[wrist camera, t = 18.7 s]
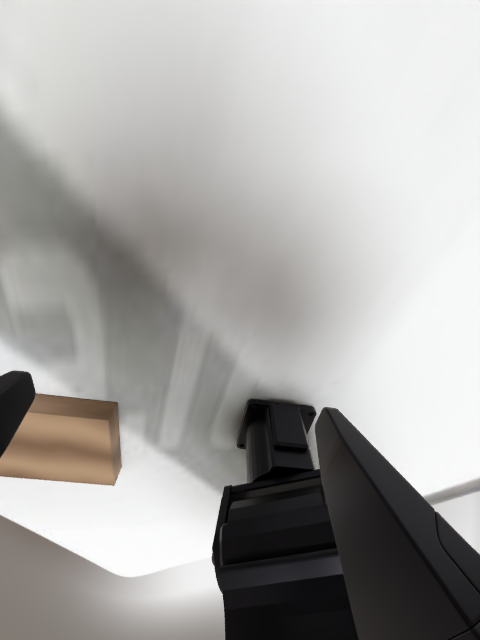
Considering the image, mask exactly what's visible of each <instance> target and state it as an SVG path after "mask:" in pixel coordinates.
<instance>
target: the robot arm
mask: <svg viewBox="0 0 480 640" xmlns="http://www.w3.org/2000/svg"><path fill="white" fill-rule="evenodd" d="M35 394H36V392H35V388H34V384H33V380H32V377H31V374H30V373H29V372H24V371H11V372H8V373H6V374H4V375H2V376H0V458H1V457H2V455H3V454H4V452H5V451H6V449H7V447H8V446H9V444H10V442H11V441H12V439H13V437H14V435H15V433H16V432H17V430H18V428H19V426H20V424H21V423H22V421H23V419H24V417H25V415H26V414H27V412H28V410H29V408H30V406H31V405H32V403H33V401H34V399H35ZM252 405H254V406H252ZM315 416H316V411H315V408H313V407H307V406H299V405H290V404H282V403H273V402H265V401H256V400H250V401H249V402H248V403H247V406H246V409H245V413H244V417H243V421H242V424H241V428H240V432H239V436H238V439H237V447H238V448H241V449H246V459H247V483H246V484H241V485H236V486H232V485H230V486H225V487H224V492H223V497H222V499H221V505H220V510H219V515H218V520H217V525H216V531H215V536H214V541H213V547H212V550H213V553H212V563H213V565H214V566H215V572H216V578H217V582H218V586H219V588H220V591H221V592H222V594H223V600H224V612H225V638H226V639H225V640H480V554H479V553H478V552H477V551H476V550H474V549H473V548H472V547H471V546H470V545H469V544H468V543H467V542H466V541H465V540H464V539H463V538H462V537H461V536H460V535H459V534H458V533H457V532H456V531H455V530H454V529H453V528H452V527H451V526H450V525H449V524H448V523H447V521H446V520H445V519H444V518H443V517H442V516H441V515H440V514H439V513H438V512H435V510H434V508H433V507H432V506H431V505H430V504H429V503H428V502H427V501H426V500H425V499H424V498H423V497H422V496H421V495H420V494H419V493H418V492H417V491H416V490H415V489H414V488H413V487H412V485H411V484H410V483H409V482H408V481H407V480H406V479H405V478H404V477H403V476H402V475H401V474H400V473H399V472H398V471H397V470H396V469H395V468H394V467H393V466H392V465H391V464H390V463H389V462H388V461H387V460H386V459H385V458H384V457H383V456H382V455H381V453H380V452H379V451H378V450H377V449H376V448H375V447H374V446H373V445H372V444H371V443H370V442H369V441H368V440H367V439H366V438H365V437H364V436H363V435H362V434H361V433H360V432H359V431H358V430H357V429H356V428H355V427H354V426H353V425H352V424H351V423H350V421H349V420H348V419H347V418H346V417H345V416H344V415H343V414H342V413H341V412H340V411H339V410H338V409H336V408H330V407H324V408H323V409H322V411H321V413H320V415H319V418H318V420H317V422H316V425H315V434H316V442H317V450H318V458H319V466H320V469H317V470H316V469H315V465H314V461H313V457H312V453H311V449H310V445H309V442H308V438H307V433H308V431H309V429H310V427H311V425H312V422H313V420H314V418H315Z"/></svg>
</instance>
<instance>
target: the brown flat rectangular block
mask: <svg viewBox="0 0 480 640" xmlns="http://www.w3.org/2000/svg"><path fill="white" fill-rule="evenodd" d="M120 469H121V454H120V439H119V423H118V408H117V403H114V402H105V401H96V400H87V399H78V398H69V397H60V396H51V395H42V394H35V399H34V401H33V403H32V405H31V406H30V408H29V410H28V412H27V414H26V415H25V417H24V419H23V421H22V423H21V424H20V426H19V428H18V430H17V432H16V433H15V435H14V437H13V439H12V441H11V442H10V444H9V446H8V447H7V449H6V451H5V452H4V454H3V455H2V457H1V458H0V476H3V477H15V478H27V479H39V480H52V481H64V482H76V483H88V484H100V485H113V486H114V485H115V483H116V480H117V477H118V475H119V472H120Z"/></svg>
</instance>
